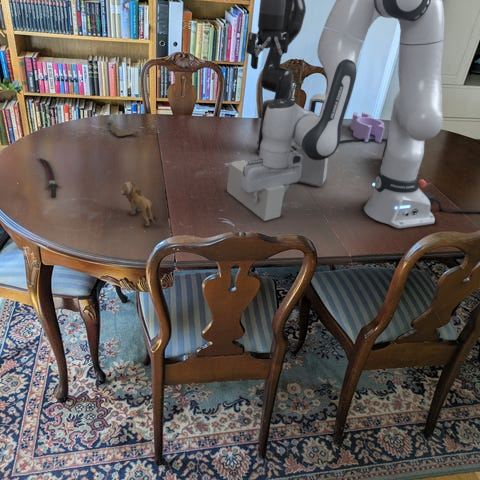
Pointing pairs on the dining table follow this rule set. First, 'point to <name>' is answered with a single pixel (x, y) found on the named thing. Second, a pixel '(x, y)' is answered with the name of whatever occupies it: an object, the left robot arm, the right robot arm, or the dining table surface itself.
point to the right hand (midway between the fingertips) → (268, 199)
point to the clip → (367, 127)
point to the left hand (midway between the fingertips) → (265, 68)
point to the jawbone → (119, 132)
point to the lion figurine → (137, 201)
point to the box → (268, 197)
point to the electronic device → (312, 169)
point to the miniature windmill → (297, 82)
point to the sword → (52, 181)
